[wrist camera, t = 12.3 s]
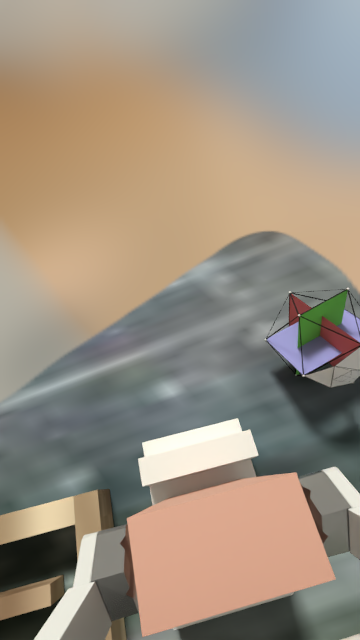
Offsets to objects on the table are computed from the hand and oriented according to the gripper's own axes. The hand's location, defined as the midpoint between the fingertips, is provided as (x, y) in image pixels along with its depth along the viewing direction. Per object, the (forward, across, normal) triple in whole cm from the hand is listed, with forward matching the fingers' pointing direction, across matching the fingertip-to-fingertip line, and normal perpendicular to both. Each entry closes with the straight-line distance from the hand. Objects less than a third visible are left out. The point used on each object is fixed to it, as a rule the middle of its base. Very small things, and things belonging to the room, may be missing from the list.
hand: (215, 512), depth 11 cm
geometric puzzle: (+14, -11, +3) cm, 18 cm away
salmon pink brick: (+7, 0, +8) cm, 10 cm away
